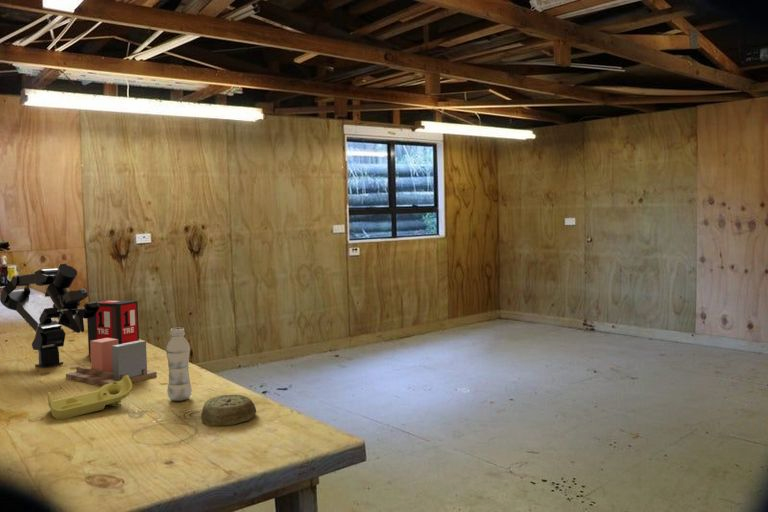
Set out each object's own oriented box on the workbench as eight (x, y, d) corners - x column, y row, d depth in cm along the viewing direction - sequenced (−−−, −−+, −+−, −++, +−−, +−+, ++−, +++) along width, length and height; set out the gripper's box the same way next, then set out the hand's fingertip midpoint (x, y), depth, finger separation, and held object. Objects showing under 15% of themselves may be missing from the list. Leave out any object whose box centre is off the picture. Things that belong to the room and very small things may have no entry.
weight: (227, 431, 142) (226, 410, 142) (188, 422, 150) (188, 402, 149) (267, 415, 154) (266, 396, 154) (229, 407, 161) (229, 389, 161)
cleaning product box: (139, 352, 234) (137, 301, 233) (121, 357, 225) (119, 304, 224) (107, 349, 240) (105, 299, 239) (88, 354, 232) (86, 302, 231)
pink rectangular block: (91, 371, 196) (90, 340, 195) (108, 367, 201) (107, 337, 200) (102, 373, 193) (101, 342, 192) (119, 369, 198) (118, 339, 197)
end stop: (113, 379, 186) (111, 345, 186) (141, 372, 195) (140, 340, 194) (119, 380, 185) (117, 346, 184) (147, 373, 193) (146, 340, 193)
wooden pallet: (66, 378, 195) (65, 368, 195) (111, 368, 208) (110, 358, 208) (111, 388, 182) (111, 377, 182) (156, 376, 196) (156, 366, 195)
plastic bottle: (169, 404, 164) (166, 331, 163) (166, 398, 170) (163, 328, 169) (194, 401, 167) (191, 329, 166) (189, 395, 173) (187, 326, 172)
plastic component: (53, 412, 151) (46, 388, 158) (55, 434, 154) (48, 409, 161) (136, 393, 162) (126, 371, 169) (136, 414, 166) (127, 391, 173)
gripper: (42, 284, 197) (63, 320, 191) (95, 279, 212) (116, 312, 207) (30, 306, 201) (50, 342, 196) (83, 300, 217) (103, 333, 212)
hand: (81, 331), depth 203 cm, fingers closed
